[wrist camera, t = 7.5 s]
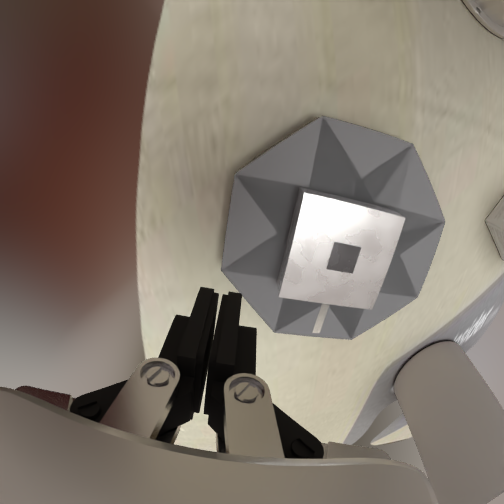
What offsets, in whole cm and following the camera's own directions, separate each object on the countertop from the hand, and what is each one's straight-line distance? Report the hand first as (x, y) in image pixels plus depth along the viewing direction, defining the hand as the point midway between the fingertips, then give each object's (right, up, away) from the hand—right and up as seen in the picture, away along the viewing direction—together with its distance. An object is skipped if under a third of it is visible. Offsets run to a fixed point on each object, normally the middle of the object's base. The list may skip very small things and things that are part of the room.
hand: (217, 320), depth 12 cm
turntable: (+10, +4, +16) cm, 19 cm away
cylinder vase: (+28, -15, +24) cm, 40 cm away
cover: (+9, +3, +14) cm, 17 cm away
